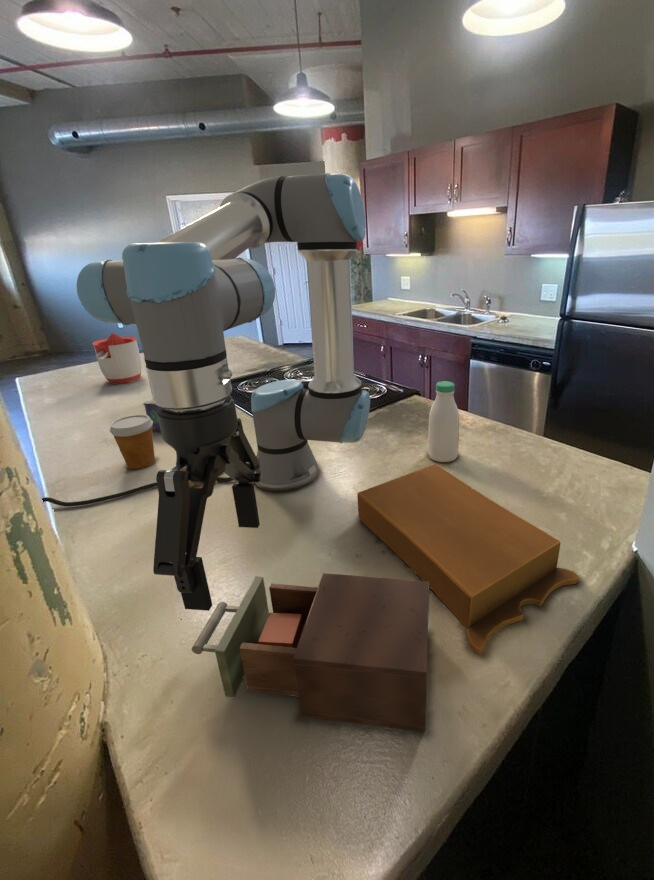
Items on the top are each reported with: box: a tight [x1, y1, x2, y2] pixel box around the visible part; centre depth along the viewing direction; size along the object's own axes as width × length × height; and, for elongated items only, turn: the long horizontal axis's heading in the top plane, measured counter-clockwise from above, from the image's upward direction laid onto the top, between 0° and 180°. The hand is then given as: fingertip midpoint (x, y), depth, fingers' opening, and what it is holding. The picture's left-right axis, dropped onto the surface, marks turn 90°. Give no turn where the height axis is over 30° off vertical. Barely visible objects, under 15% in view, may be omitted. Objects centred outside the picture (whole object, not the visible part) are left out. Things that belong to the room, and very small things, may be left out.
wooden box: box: [356, 463, 580, 654], centre depth 75 cm, size 23×6×35 cm
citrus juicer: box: [92, 332, 142, 384], centre depth 172 cm, size 16×17×20 cm
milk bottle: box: [427, 380, 460, 463], centre depth 105 cm, size 8×8×20 cm
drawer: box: [191, 575, 318, 699], centre depth 54 cm, size 18×12×8 cm, turn 83°
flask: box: [143, 400, 161, 432], centre depth 126 cm, size 9×3×11 cm, turn 71°
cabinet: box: [293, 572, 430, 732], centre depth 53 cm, size 15×13×10 cm
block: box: [258, 612, 303, 648], centre depth 54 cm, size 4×4×4 cm
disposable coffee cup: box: [109, 414, 156, 470], centre depth 106 cm, size 10×10×12 cm
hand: (227, 561), depth 51 cm, fingers open, 13 cm apart
